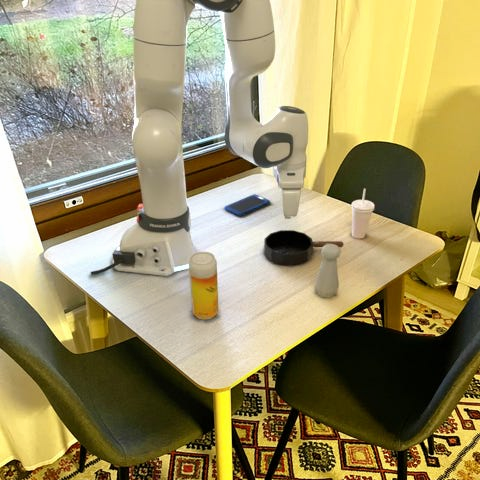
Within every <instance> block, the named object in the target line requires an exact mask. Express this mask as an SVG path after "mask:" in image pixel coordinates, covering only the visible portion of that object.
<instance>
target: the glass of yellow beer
mask: <svg viewBox="0 0 480 480" xmlns="http://www.w3.org/2000/svg"><path fill="white" fill-rule="evenodd" d="M188 272H189V273H188V274H189V286H190V298H191V299H190V300H191V311H192V314H193V315H194V316H195V317H196V318H197V319H198V320H204V321H206V320H207V321H208V320H211V319H214V318H215V317H216V315H218V313H219V312H220V311H219V288H218V262H217V259H216V257H215V255H214V254H213V253H212V252H208V251H196V253H194V254H193V255H192V256H191V257H190V260H189V268H188Z"/></svg>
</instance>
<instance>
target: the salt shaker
mask: <svg viewBox="0 0 480 480" xmlns="http://www.w3.org/2000/svg"><path fill="white" fill-rule="evenodd" d="M320 255H321V257H322V260H321V263H320V267H319V270H318V273H317V275H316V278H315V281H314V289H315V292H316V294H317V295H318V296H319V297H320V298H326V299H330V298H332V297H334V296H335V295H336V293H337V292H338V291H339V288H340V287H339V286H340V283H339V282H340V281H339V271H338V258H339V257H340V255H341V247H338V246H337V245H334V244H326V245H324V246H323V247H321V252H320Z"/></svg>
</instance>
